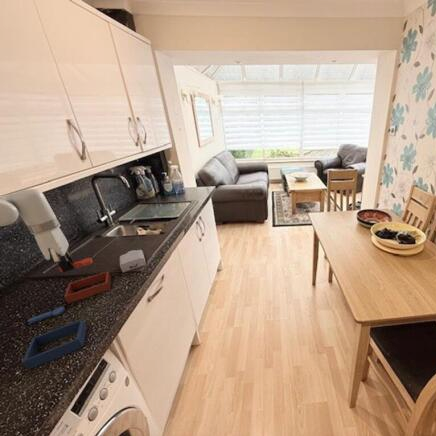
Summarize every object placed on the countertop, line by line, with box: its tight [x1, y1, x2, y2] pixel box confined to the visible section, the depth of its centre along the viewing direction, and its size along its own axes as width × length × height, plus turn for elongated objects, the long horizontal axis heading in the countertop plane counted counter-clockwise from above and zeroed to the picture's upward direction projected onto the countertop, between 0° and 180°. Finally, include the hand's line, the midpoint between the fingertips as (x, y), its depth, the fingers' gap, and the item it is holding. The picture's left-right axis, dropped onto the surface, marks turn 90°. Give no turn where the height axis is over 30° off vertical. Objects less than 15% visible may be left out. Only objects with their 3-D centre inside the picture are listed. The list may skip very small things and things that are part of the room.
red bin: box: [63, 270, 112, 305], centre depth 96 cm, size 13×9×4 cm
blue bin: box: [22, 318, 88, 370], centre depth 72 cm, size 12×9×4 cm
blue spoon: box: [27, 306, 66, 325], centre depth 85 cm, size 10×4×2 cm, turn 122°
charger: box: [119, 249, 147, 273], centre depth 113 cm, size 5×9×15 cm
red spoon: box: [58, 257, 94, 273], centre depth 90 cm, size 10×4×2 cm, turn 122°
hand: (69, 268), depth 89 cm, fingers closed on red spoon, 1 cm apart
